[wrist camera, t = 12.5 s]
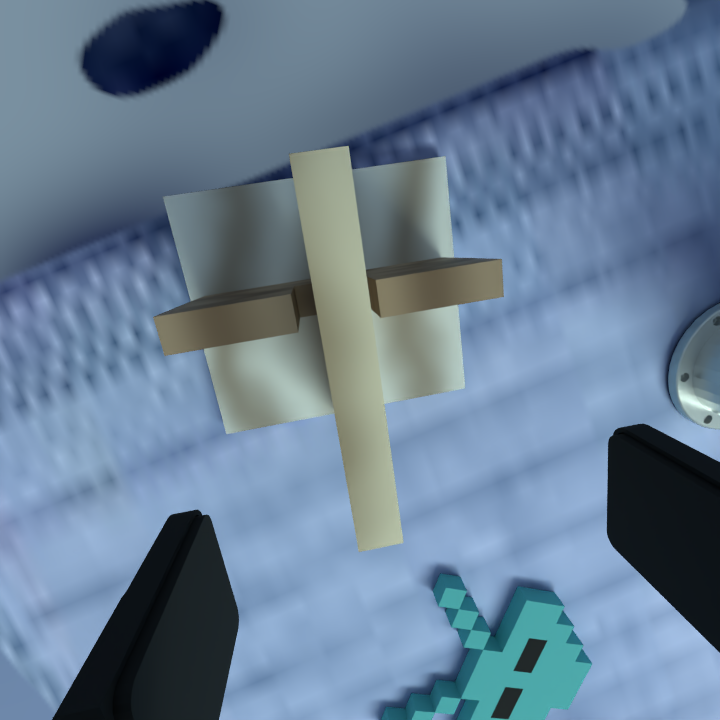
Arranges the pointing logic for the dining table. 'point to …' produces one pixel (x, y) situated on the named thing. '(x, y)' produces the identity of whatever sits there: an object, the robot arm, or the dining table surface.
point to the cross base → (280, 255)
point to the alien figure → (505, 660)
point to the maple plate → (348, 339)
